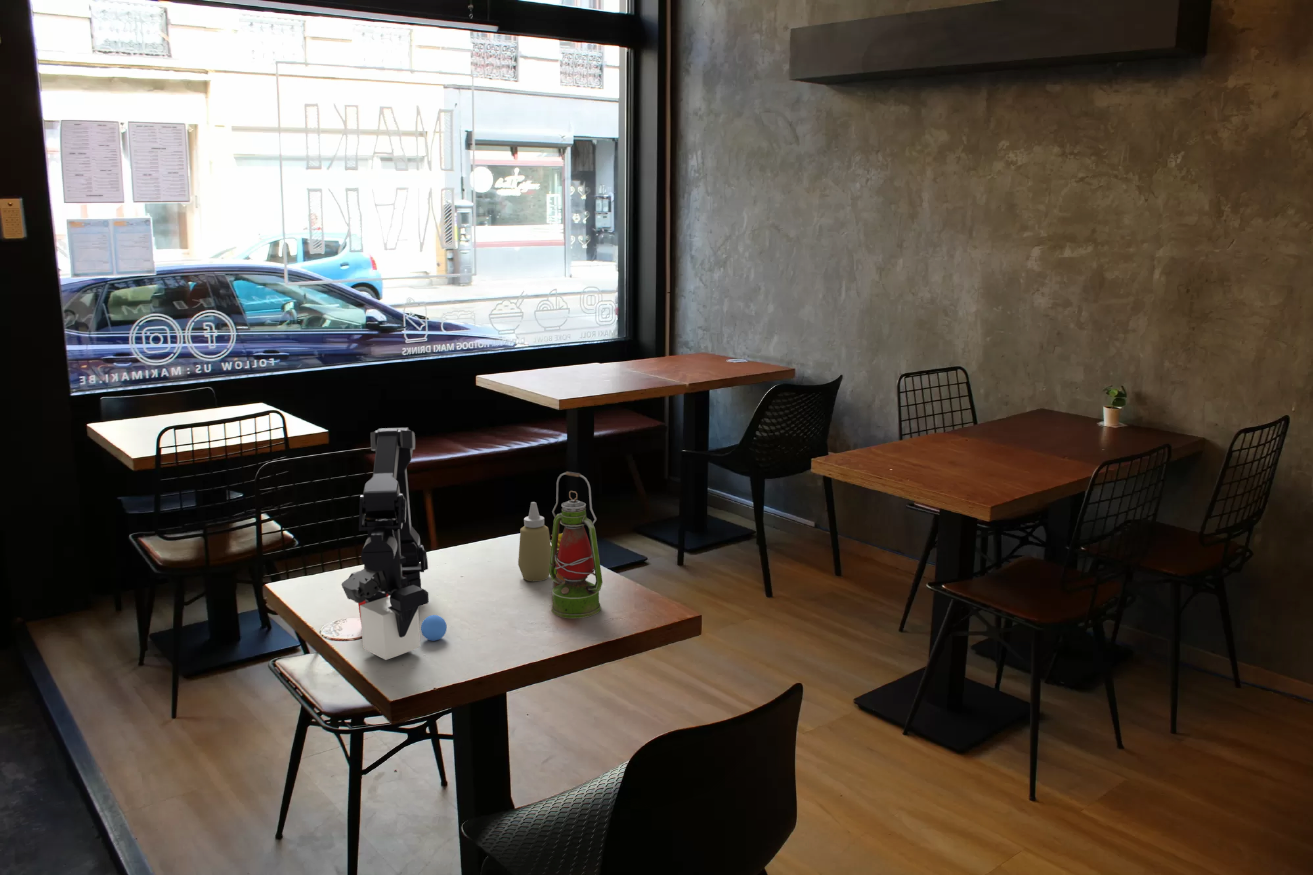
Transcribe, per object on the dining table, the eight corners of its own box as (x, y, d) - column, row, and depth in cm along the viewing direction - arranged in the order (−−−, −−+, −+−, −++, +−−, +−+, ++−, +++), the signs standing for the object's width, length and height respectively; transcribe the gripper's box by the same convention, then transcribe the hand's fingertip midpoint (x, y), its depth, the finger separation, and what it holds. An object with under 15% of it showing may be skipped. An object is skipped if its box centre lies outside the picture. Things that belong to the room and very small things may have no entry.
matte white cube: (363, 648, 202) (359, 605, 200) (397, 636, 208) (394, 594, 206) (385, 659, 197) (382, 615, 195) (420, 647, 203) (417, 604, 201)
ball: (416, 639, 210) (415, 616, 209) (437, 632, 213) (436, 609, 212) (431, 646, 206) (430, 622, 205) (452, 639, 210) (451, 615, 209)
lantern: (534, 610, 224) (530, 473, 218) (564, 595, 233) (560, 463, 227) (588, 623, 217) (585, 482, 211) (617, 606, 226) (615, 471, 220)
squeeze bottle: (515, 573, 247) (512, 499, 243) (549, 570, 249) (547, 496, 245) (521, 585, 239) (519, 509, 235) (556, 581, 242) (554, 505, 238)
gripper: (320, 552, 199) (326, 630, 202) (375, 575, 186) (381, 658, 190) (371, 538, 207) (376, 613, 210) (428, 560, 194) (432, 639, 198)
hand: (390, 630), depth 202 cm, fingers closed on matte white cube, 8 cm apart
